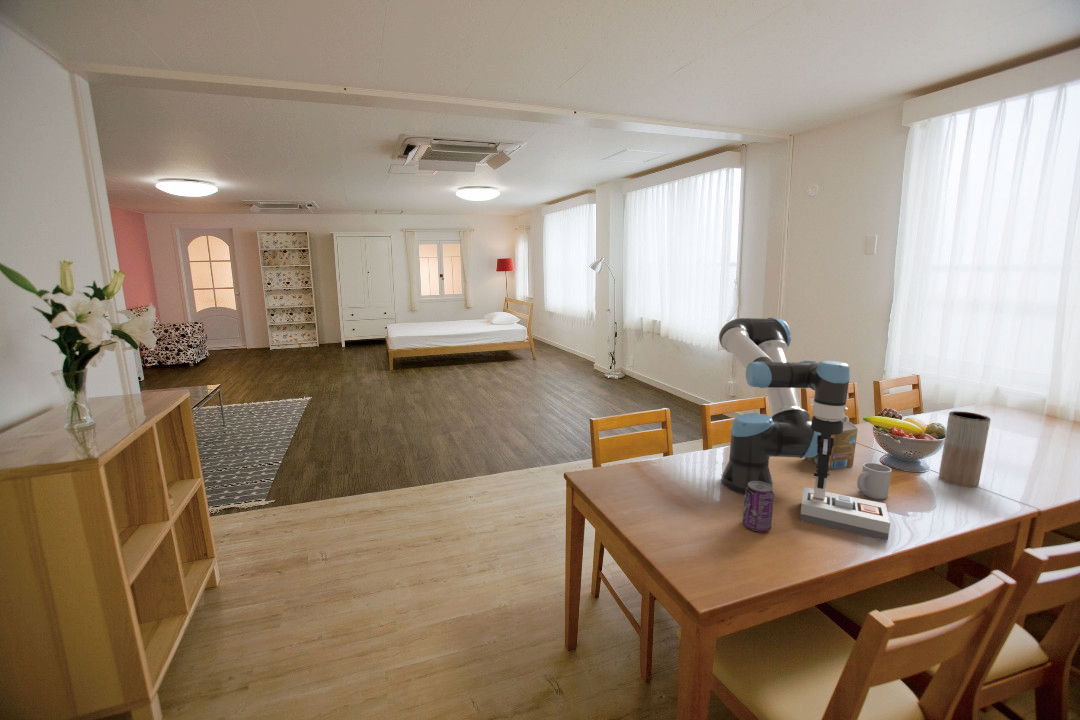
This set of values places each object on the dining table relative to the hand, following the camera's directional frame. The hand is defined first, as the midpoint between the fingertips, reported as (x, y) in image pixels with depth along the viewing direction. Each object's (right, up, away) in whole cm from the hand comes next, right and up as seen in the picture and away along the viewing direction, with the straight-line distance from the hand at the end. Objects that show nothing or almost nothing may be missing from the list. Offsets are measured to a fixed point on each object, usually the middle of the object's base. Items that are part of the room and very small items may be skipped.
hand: (818, 497), depth 134 cm
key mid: (+5, -2, -3) cm, 6 cm away
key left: (0, -3, +1) cm, 3 cm away
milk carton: (+26, +1, +38) cm, 47 cm away
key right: (+10, -4, -5) cm, 12 cm away
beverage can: (-20, -7, -5) cm, 22 cm away
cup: (+24, -3, +13) cm, 28 cm away
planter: (+60, -1, +23) cm, 64 cm away
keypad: (+5, -6, -2) cm, 8 cm away
